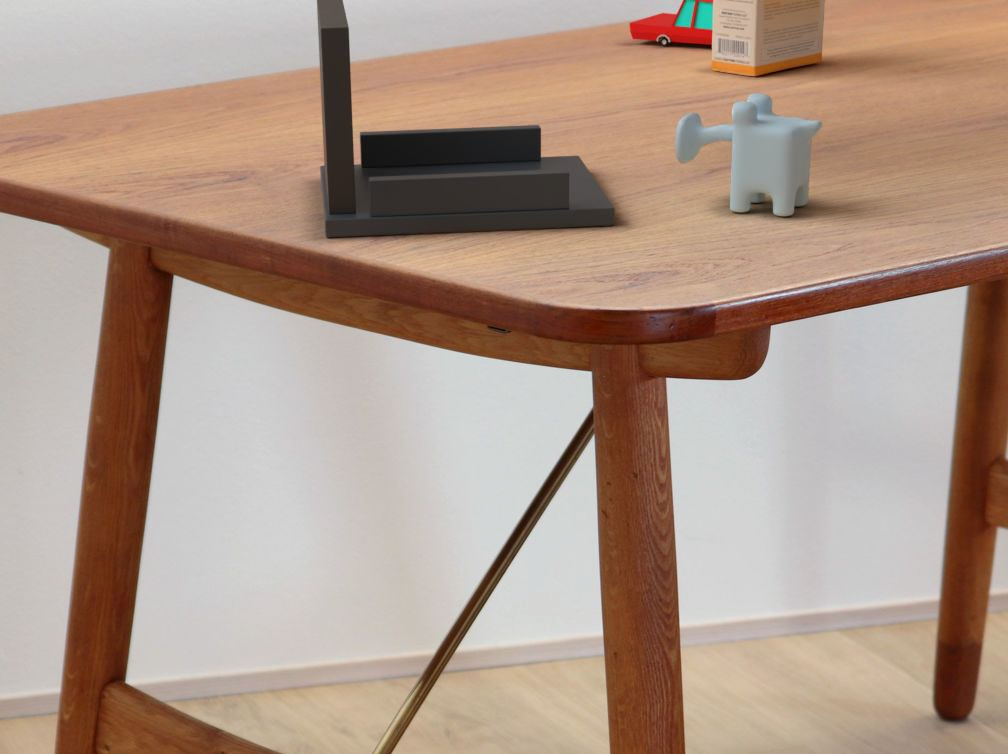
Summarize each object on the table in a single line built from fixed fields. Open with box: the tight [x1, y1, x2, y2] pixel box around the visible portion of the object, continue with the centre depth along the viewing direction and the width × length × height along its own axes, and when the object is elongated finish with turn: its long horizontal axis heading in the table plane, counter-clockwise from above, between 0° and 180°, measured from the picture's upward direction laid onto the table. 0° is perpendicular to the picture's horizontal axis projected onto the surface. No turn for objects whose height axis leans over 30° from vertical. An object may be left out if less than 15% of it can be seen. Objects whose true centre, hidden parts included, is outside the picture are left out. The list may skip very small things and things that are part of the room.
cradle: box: [316, 0, 616, 238], centre depth 110 cm, size 14×16×11 cm
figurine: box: [674, 92, 823, 217], centre depth 109 cm, size 4×8×6 cm, turn 62°
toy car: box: [629, 0, 713, 47], centre depth 162 cm, size 6×12×4 cm, turn 57°
